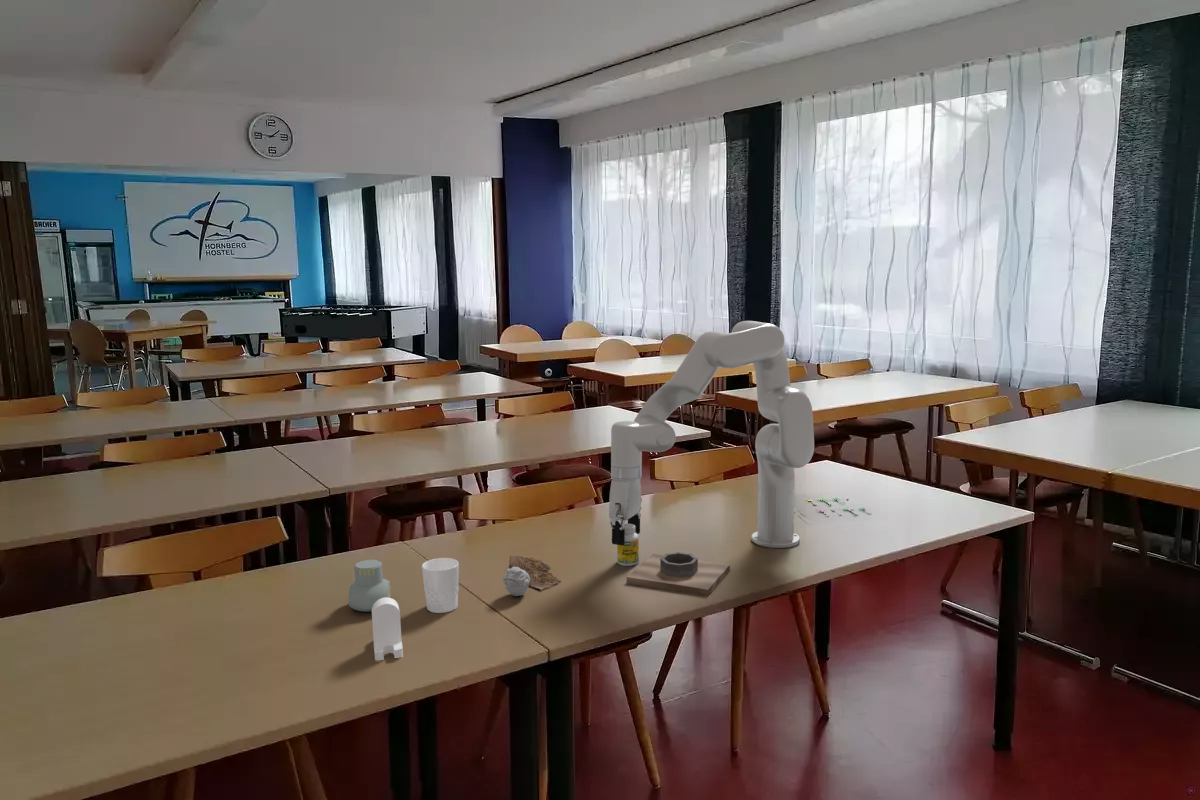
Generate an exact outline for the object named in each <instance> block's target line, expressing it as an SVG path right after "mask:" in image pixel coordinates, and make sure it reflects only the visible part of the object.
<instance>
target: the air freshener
mask: <svg viewBox="0 0 1200 800" xmlns="http://www.w3.org/2000/svg"><path fill="white" fill-rule="evenodd" d="M382 564H383V562H381V561H380V560H377V559H366V560H362V561H361V560H360V561H359V562H356V564H354V566H353V569H354V582H352V583H350V585H349V589H348V606H349V608H351V609H352V610H355V611H358V612H366V613H369V612H372V607H373V605H374V603H375V602H376V601H377V600H379V599H381V598H385V597H388V598H391V582H390V580H387V579H386V578H383V577H384V576H383V565H382Z"/></svg>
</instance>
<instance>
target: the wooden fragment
mask: <svg viewBox="0 0 1200 800" xmlns="http://www.w3.org/2000/svg"><path fill="white" fill-rule="evenodd" d="M509 561H510V564H509V569H511V568H512V567H519V568H520V569H522V570H524V571H526V572H527V573H528V575H529V577H530V582H529V585H528V586H530V587H532V588H536V589H539V590H540V592H543V591H546V590H550V589H552V588H553V587H555V586H557V585H558V584H560V583H561V582H562V581H561V580H560V579H558V577H556V576H553V573H552V572H549V570H550V569H551V566H550V565H549V564H547V563H544V562H542V560H541V559H536V558H534V557H524V556H520V555H514V554H513V555H512V554H511V555H510V560H509Z"/></svg>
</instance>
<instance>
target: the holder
mask: <svg viewBox="0 0 1200 800" xmlns="http://www.w3.org/2000/svg"><path fill="white" fill-rule="evenodd" d="M730 571H731V565H730V564H729V563H723V562H722V563H721V562H714V561H706V560H700V559H698V558H697V557H696V556H695V555H694V554H692V553H685V552H679V551H677V552H672V553H671V552H670V553H665V554H657V553H652V554H651V555H650V556H649V557H648V558H647V559H645V560H644V561H643V562H642V563H641V564H639V565H638V566H637V567H636V568H635V569H633V571H631V572H630V574H628V575H627V576H626V584H631V585H637V586H645V587H650V588H656V589H662V590H668V591H675V592H681V593H688V594H694V595H701V596H710V594H711V593H712V592H713V591H714V590H715V588H717V586H718V585H719V584H720V583H721V581H723V579H724V578H725V577H726V575H727V574H728V573H730Z"/></svg>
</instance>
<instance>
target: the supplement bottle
mask: <svg viewBox="0 0 1200 800" xmlns="http://www.w3.org/2000/svg"><path fill="white" fill-rule="evenodd" d="M623 529H625V544H624V545H623V546H622V545H617V546H616V547H617V548H616V549H617V551H616V553H617V555H616V557H617V563H618V565H620V566H624V567H633V566H636V565H638V564H639V563H640V562H639V561H640V557H639V555H640V553H639V552H640V551H639V534H636V533H635V525H633V524H628V523H625V524H624V527H623Z"/></svg>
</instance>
